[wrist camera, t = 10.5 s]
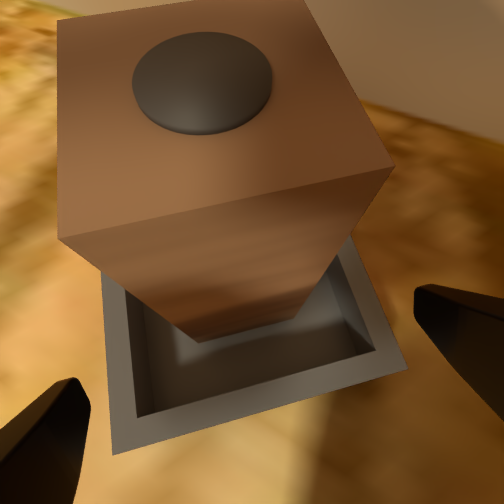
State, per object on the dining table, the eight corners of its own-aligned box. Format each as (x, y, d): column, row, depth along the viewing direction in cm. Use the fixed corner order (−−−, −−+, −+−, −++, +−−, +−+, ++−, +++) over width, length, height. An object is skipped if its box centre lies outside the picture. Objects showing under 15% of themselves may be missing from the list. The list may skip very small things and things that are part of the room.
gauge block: (293, 318, 16) (399, 159, 4) (198, 343, 15) (50, 233, 4) (267, 234, 18) (296, -23, 6) (182, 254, 17) (52, 12, 6)
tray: (380, 371, 15) (408, 369, 12) (139, 441, 14) (112, 455, 11) (304, 180, 20) (313, 148, 17) (118, 220, 19) (95, 192, 16)
